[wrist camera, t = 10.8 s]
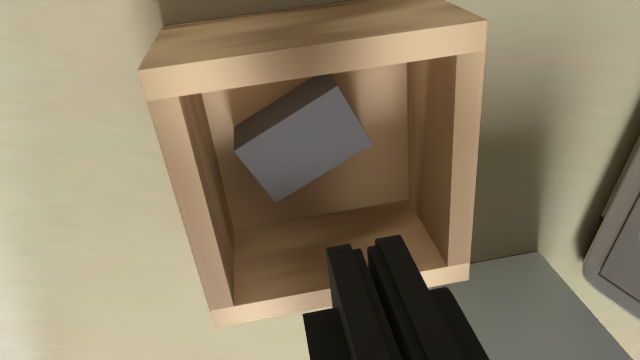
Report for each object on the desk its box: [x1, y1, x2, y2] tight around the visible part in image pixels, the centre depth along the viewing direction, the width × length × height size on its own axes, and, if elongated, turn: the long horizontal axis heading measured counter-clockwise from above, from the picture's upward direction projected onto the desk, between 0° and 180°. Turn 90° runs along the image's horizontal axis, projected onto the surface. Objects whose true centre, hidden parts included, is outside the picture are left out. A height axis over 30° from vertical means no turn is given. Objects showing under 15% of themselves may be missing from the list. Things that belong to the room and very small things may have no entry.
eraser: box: [234, 74, 373, 203], centre depth 17 cm, size 4×2×2 cm, turn 121°
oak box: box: [137, 0, 488, 328], centre depth 17 cm, size 9×9×5 cm
